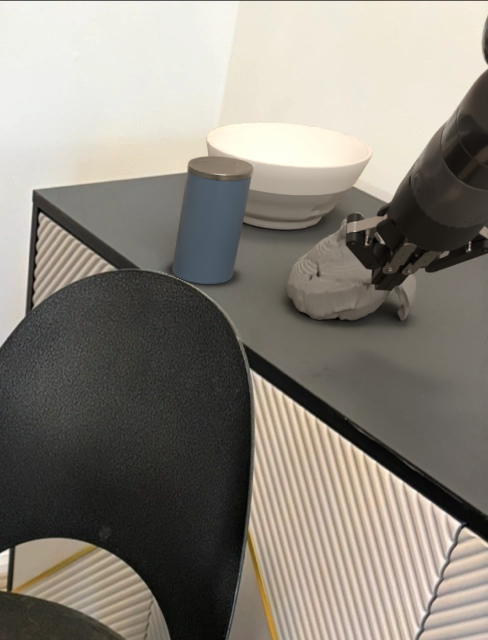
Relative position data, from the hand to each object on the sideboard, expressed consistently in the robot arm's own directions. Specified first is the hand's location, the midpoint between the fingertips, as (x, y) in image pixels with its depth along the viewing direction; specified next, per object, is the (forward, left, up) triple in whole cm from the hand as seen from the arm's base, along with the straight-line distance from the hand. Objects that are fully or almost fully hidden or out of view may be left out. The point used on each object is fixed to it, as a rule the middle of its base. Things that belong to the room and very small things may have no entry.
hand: (382, 280), depth 103 cm
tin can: (+3, -23, -6) cm, 24 cm away
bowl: (-17, -36, -7) cm, 40 cm away
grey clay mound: (-5, -9, -7) cm, 12 cm away
